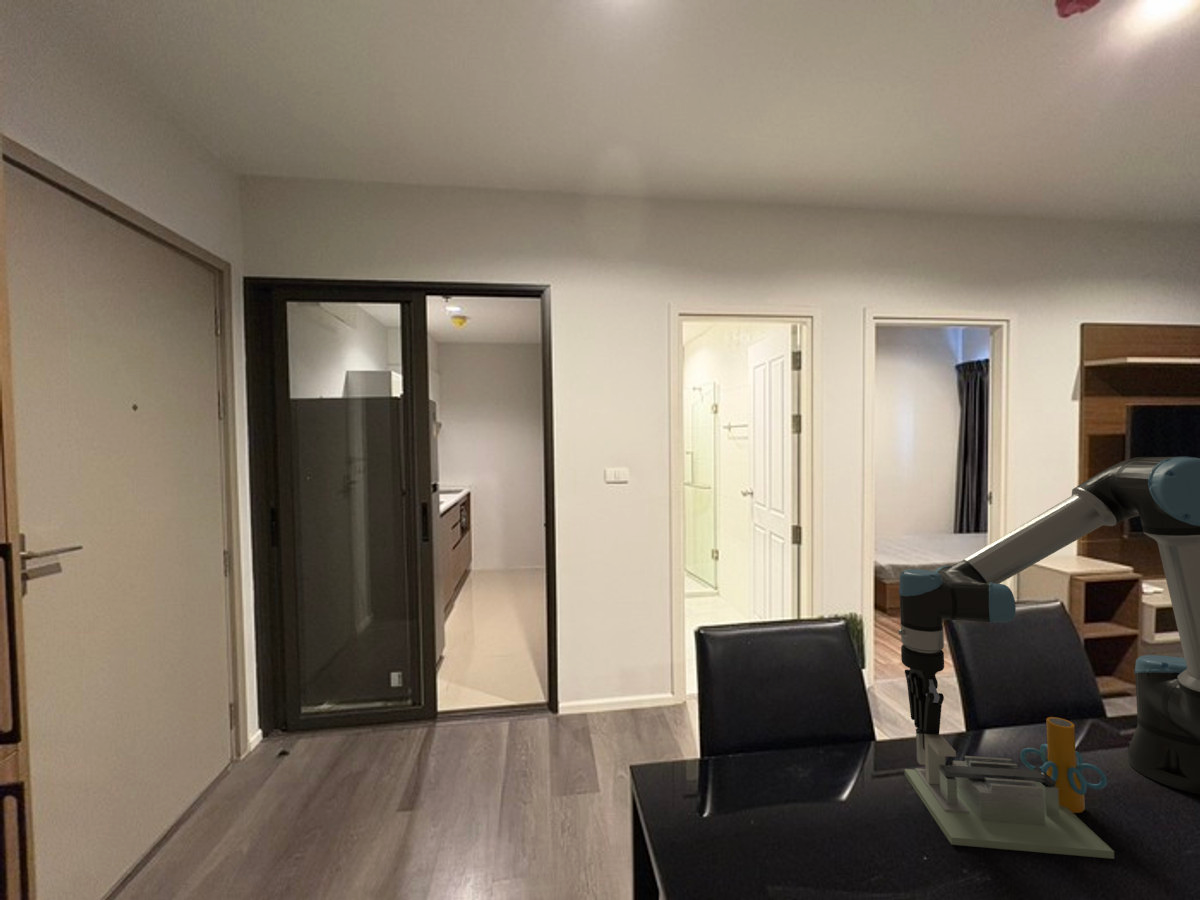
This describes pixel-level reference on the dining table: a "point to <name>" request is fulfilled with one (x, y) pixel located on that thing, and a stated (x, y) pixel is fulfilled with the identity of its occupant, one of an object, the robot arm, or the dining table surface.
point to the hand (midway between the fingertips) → (925, 763)
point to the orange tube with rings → (1064, 764)
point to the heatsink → (1001, 794)
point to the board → (1007, 826)
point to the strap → (996, 773)
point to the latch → (936, 756)
